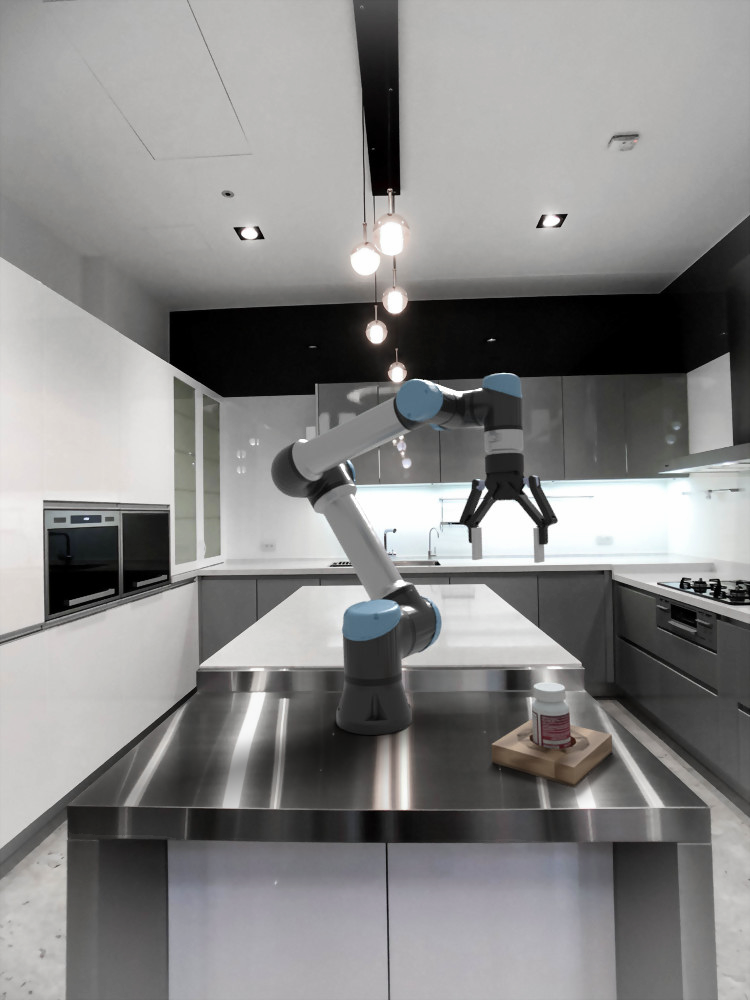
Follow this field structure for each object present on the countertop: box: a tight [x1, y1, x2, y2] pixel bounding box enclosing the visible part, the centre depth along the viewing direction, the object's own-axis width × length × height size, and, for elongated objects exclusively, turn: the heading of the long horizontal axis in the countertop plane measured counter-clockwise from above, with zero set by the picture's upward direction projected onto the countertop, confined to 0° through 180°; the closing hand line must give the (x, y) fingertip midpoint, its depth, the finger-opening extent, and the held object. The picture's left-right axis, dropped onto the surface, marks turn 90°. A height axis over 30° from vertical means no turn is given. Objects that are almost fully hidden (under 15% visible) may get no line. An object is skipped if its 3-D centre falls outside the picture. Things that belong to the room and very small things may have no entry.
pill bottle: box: [531, 681, 571, 749], centre depth 97 cm, size 6×6×11 cm
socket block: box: [491, 718, 613, 788], centre depth 97 cm, size 14×16×3 cm
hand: (507, 560), depth 114 cm, fingers open, 13 cm apart
